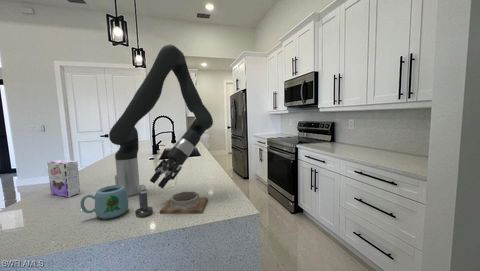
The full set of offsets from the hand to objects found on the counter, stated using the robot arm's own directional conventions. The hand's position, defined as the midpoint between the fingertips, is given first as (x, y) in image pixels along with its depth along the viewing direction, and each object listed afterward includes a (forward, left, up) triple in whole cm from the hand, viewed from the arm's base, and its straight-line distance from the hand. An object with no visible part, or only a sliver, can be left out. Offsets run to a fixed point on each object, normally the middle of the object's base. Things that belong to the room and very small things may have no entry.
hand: (155, 184), depth 82 cm
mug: (-18, -5, -10) cm, 21 cm away
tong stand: (+10, +2, -10) cm, 15 cm away
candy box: (-54, +17, -10) cm, 57 cm away
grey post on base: (-4, -4, -10) cm, 11 cm away
